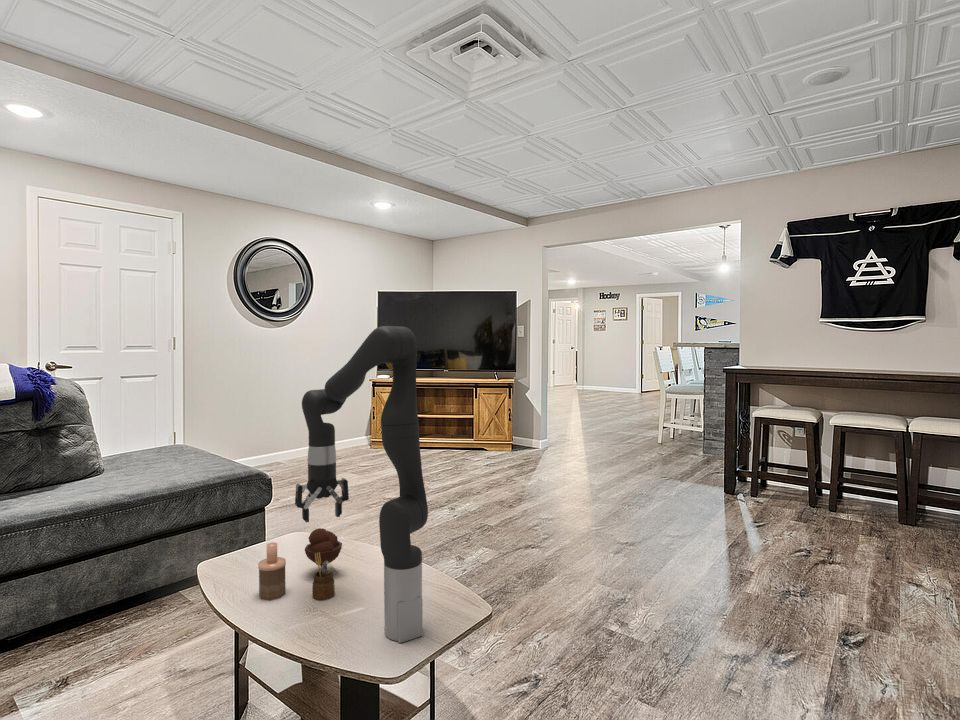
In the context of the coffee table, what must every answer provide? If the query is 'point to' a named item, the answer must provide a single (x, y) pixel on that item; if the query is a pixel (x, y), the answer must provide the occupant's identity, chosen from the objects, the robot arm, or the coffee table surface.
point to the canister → (272, 584)
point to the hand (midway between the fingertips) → (322, 518)
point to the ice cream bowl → (323, 546)
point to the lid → (271, 559)
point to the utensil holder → (323, 582)
